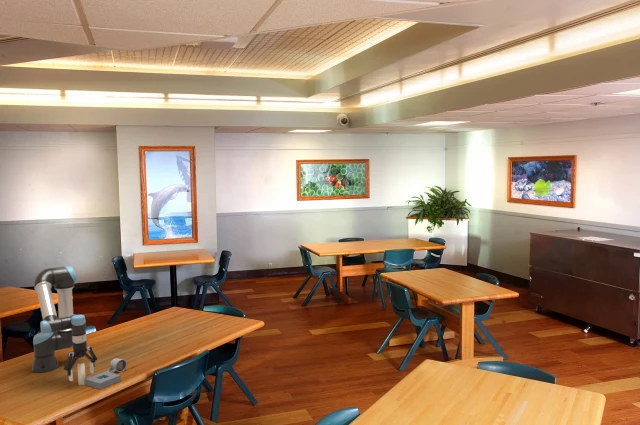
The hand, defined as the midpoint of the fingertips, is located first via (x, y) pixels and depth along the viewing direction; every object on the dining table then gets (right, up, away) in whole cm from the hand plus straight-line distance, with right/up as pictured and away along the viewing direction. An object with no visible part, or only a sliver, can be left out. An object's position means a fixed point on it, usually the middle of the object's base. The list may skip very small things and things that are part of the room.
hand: (81, 376), depth 310 cm
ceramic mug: (+13, -3, +19) cm, 24 cm away
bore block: (+12, -4, +1) cm, 13 cm away
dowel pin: (0, -4, 0) cm, 4 cm away
